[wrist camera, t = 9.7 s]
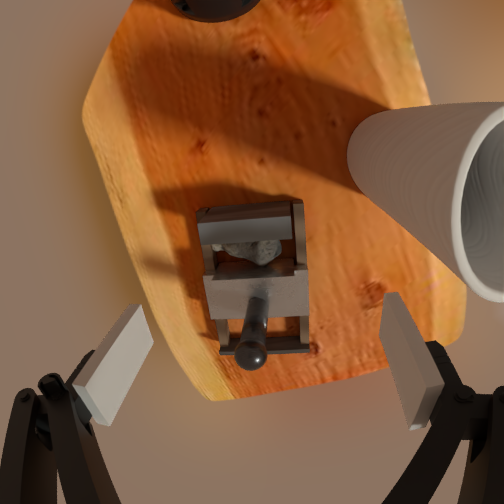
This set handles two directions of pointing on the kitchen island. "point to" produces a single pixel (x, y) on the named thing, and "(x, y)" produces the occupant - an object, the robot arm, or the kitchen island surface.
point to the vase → (440, 183)
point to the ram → (256, 300)
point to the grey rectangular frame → (249, 230)
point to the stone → (252, 250)
